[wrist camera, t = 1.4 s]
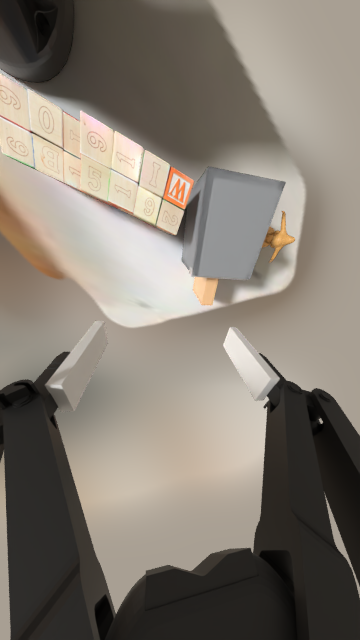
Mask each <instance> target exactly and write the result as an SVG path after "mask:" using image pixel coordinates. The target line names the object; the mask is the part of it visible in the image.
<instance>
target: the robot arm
mask: <svg viewBox="0 0 360 640" xmlns="http://www.w3.org/2000/svg"><path fill="white" fill-rule="evenodd" d="M73 29H74V5H73V0H0V68H1V69H2V70H4V71H5V72H7V73H9V74H10V75H12V76H14V77H17V78H19V79H22V80H25V81H30V82H42V81H46V80H49V79H51V78H53V77H54V76H55V75H57V74H58V73H59V71H60V70H61V69H62V68H63V66H64V64H65V62H66V60H67V58H68V55H69V52H70V49H71V44H72V38H73ZM107 344H108V340H107V334H106V329H105V323H104V321H95V322H94V323H93V325H92V326H91V327H90V328H89V330H88V331H87V332H86V333H85V335H84V336H83V337H82V339H81V340H80V341H79V342H78V344H77V345H76V346H75V347H74V349H73V350H72V351H71V352H63V353H62V354H60V355H58V356H57V357H56V358H55V359H54V360H53V361H52V363H51V364H50V365H49V366H48V367H47V369H45V371H44V372H43V373H42V374H41V375H40V376H39V377H38V379H37V380H36V381H35V382H34V383H33V382H32V381H31V380H20V381H17V382H14V383H12V384H10V385H8V386H6V387H4V388H3V389H2V390H0V461H1V458H2V455H3V451H4V458H5V488H6V513H7V514H6V515H7V542H8V568H9V569H8V570H9V595H10V596H9V597H10V624H11V640H360V598H359V594H358V590H357V585H356V582H355V578H354V575H353V572H352V569H351V567H350V566H349V564H348V562H347V560H346V558H345V557H344V556H343V555H342V554H341V553H340V552H339V550H338V549H337V547H336V545H335V542H334V539H333V534H332V529H331V524H330V519H329V514H328V509H327V504H326V499H325V495H326V498H327V500H328V503H329V506H330V508H331V511H332V513H333V516H334V519H335V522H336V524H337V527H338V530H339V532H340V535H341V537H342V540H343V543H344V546H345V548H346V551H347V554H348V556H349V559H350V561H351V564H352V567H353V570H354V572H355V574H356V578H357V580H358V583H359V586H360V436H359V434H358V433H357V431H356V430H355V429H354V427H353V426H352V424H351V422H350V421H349V420H348V418H347V417H346V415H345V414H344V412H343V411H342V410H341V408H340V406H339V405H338V403H337V402H336V400H335V399H334V398H333V397H332V396H331V395H330V394H328V393H327V392H325V391H323V390H321V389H317V388H316V389H314V390H312V392H309V391H305V390H302V389H301V388H300V387H299V386H298V385H296V384H295V383H293V382H290V381H286V380H285V378H284V377H283V376H282V375H281V374H280V373H279V372H278V370H276V368H275V367H273V365H272V364H271V363H270V362H269V361H268V359H267V358H266V357H265V356H263V355H262V354H261V353H258V352H257V351H256V350H255V349H254V347H253V346H252V345H251V344H250V343H249V342H248V340H247V339H246V338H245V337H244V336H243V334H242V333H241V332H240V331H239V330H238V329H237V327H230V329H229V331H228V334H227V337H226V339H225V342H224V344H223V346H224V348H225V350H226V352H227V353H228V355H229V357H230V358H231V360H232V362H233V364H234V365H235V367H236V369H237V370H238V372H239V374H240V376H241V377H242V379H243V381H244V383H245V384H246V386H247V388H248V389H249V391H250V393H251V395H252V396H253V398H254V400H255V401H257V400H264V399H265V397H266V396H267V397H268V398H269V401H268V402H267V403H266V404H265V406H264V408H266V407H267V422H266V438H265V454H264V455H265V457H264V471H263V472H264V473H263V487H262V504H261V516H260V521H259V523H258V526H257V528H256V532H255V538H254V551H253V553H252V552H251V548H240V549H228V550H223V551H220V552H216V553H212V554H210V555H209V556H208V557H207V558H206V559H205V560H203V561H202V562H201V563H200V564H199V565H198V566H197V567H196V568H195V569H194V570H192V571H188V570H184V569H181V568H177V567H173V566H170V565H166V566H162V567H159V568H155V569H151V570H147V571H146V574H145V575H144V576H143V577H142V578H141V579H139V581H138V582H137V583H136V584H135V585H134V586H133V587H132V589H131V590H130V591H129V593H128V594H127V596H126V597H125V599H124V601H123V602H122V604H121V606H120V608H119V610H118V612H117V614H116V613H115V610H114V606H113V604H112V600H111V596H110V593H109V590H108V586H107V583H106V580H105V577H104V574H103V571H102V568H101V565H100V563H99V561H98V559H97V557H96V554H95V551H94V548H93V544H92V541H91V538H90V534H89V531H88V527H87V524H86V520H85V517H84V513H83V510H82V507H81V503H80V500H79V496H78V493H77V489H76V486H75V483H74V480H73V476H72V473H71V469H70V466H69V462H68V459H67V455H66V452H65V448H64V445H63V442H62V438H61V435H60V432H59V428H58V424H57V421H56V418H55V415H54V412H55V411H56V409H57V408H59V410H60V412H68V411H69V412H70V411H75V409H76V406H77V405H78V403H79V401H80V399H81V397H82V394H83V393H84V390H85V388H86V386H87V384H88V382H89V380H90V378H91V376H92V374H93V372H94V370H95V368H96V366H97V364H98V362H99V360H100V358H101V356H102V354H103V352H104V350H105V348H106V346H107ZM320 418H321V419H322V421H323V423H322V424H321V423H320V422H319V419H320ZM324 492H325V494H324Z"/></svg>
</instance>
